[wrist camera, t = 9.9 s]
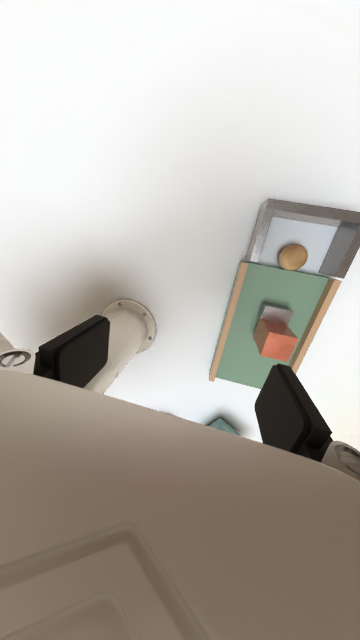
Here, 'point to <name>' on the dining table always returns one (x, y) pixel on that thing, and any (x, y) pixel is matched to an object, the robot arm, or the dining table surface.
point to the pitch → (242, 317)
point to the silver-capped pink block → (274, 332)
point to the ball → (292, 257)
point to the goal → (351, 224)
